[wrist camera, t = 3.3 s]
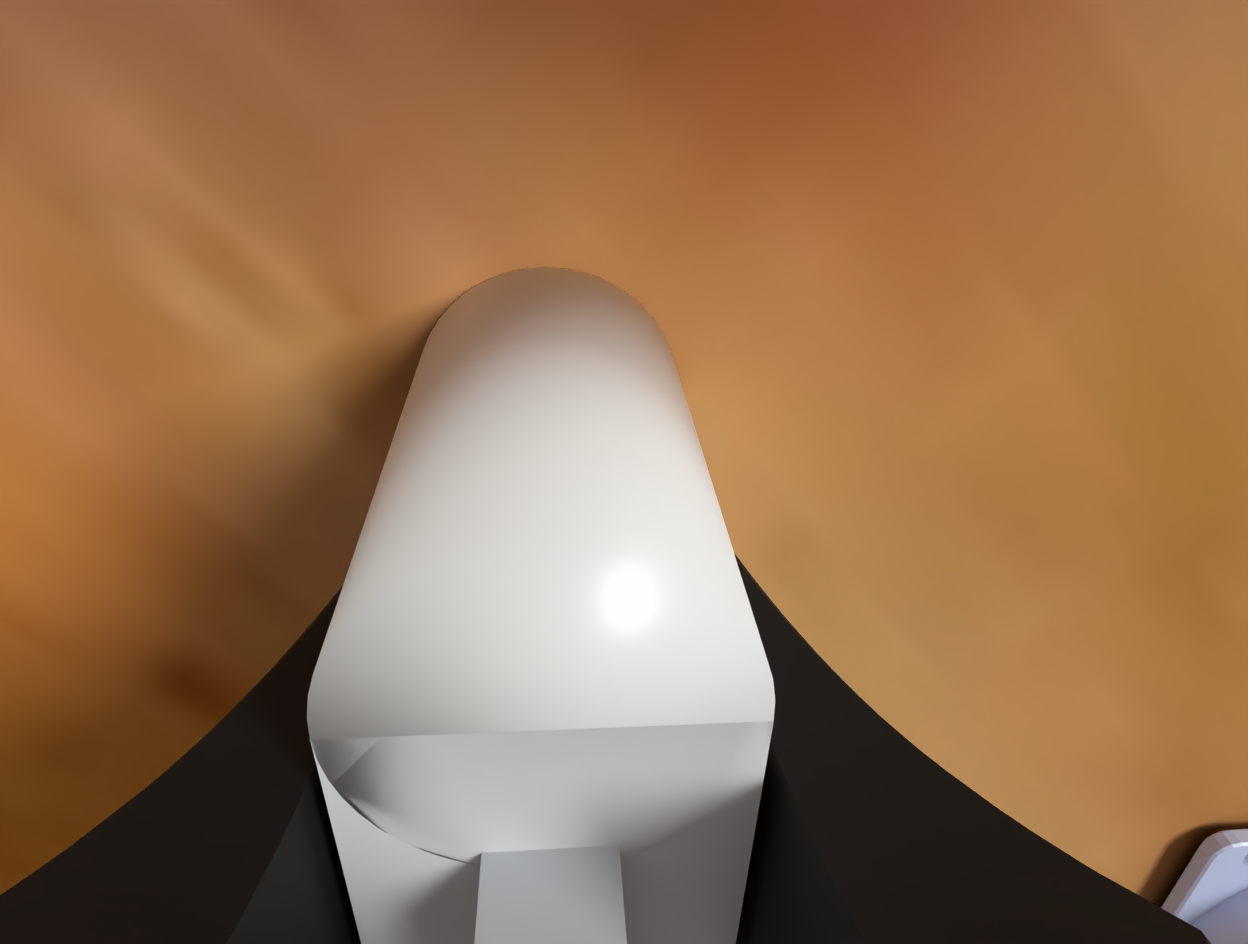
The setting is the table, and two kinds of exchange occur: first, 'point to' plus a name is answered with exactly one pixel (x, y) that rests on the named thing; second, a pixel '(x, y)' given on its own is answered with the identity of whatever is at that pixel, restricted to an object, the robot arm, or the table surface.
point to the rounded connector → (544, 645)
